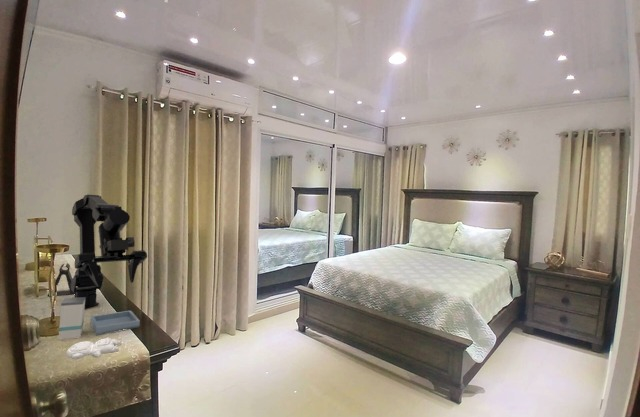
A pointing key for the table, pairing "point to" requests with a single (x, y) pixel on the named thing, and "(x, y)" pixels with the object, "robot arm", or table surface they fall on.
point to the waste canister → (71, 318)
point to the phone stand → (69, 280)
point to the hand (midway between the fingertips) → (115, 284)
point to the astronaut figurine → (93, 348)
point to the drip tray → (114, 322)
